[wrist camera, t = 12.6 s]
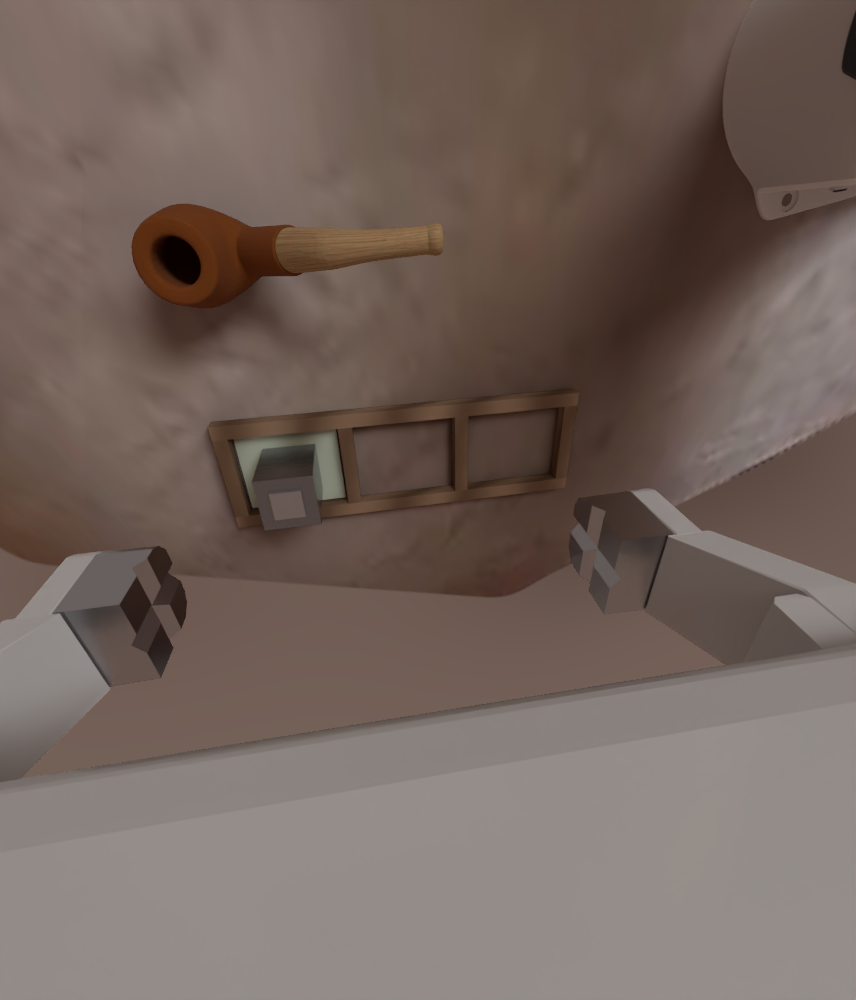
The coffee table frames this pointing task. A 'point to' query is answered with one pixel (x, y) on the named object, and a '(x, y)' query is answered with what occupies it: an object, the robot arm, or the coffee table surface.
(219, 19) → the coffee table surface
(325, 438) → the divided wooden frame
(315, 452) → the gray rectangular block
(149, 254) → the smoking pipe
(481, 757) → the robot arm
